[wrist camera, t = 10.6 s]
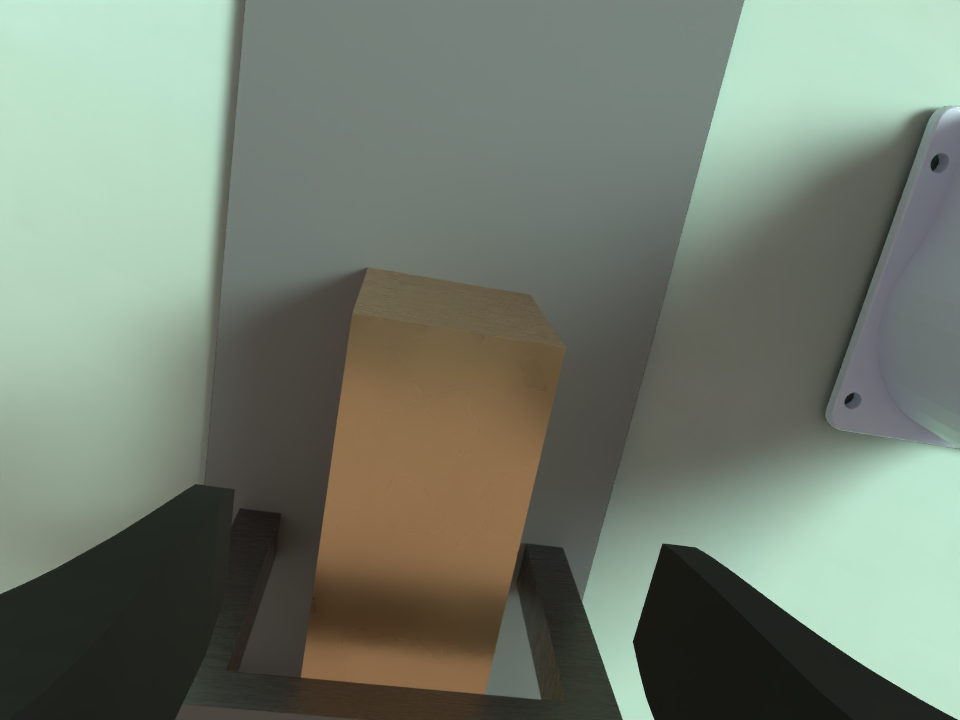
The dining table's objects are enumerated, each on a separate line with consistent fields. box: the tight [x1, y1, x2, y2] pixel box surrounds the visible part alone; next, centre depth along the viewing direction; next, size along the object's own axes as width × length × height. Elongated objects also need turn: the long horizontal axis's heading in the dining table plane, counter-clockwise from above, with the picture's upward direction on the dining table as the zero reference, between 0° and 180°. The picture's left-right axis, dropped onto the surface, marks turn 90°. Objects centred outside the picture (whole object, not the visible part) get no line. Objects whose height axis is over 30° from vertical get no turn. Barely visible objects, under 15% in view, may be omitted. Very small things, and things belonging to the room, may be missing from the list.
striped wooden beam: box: [301, 267, 566, 694], centre depth 20 cm, size 20×5×5 cm, turn 169°
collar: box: [175, 508, 623, 720], centre depth 19 cm, size 2×10×8 cm, turn 79°
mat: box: [205, 0, 744, 699], centre depth 21 cm, size 38×12×1 cm, turn 169°
